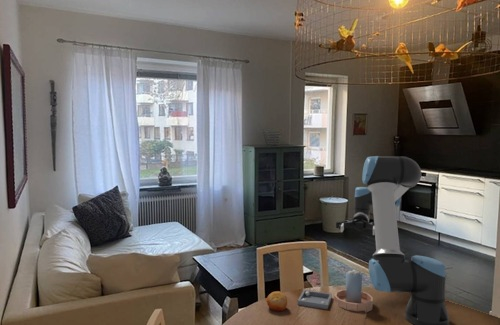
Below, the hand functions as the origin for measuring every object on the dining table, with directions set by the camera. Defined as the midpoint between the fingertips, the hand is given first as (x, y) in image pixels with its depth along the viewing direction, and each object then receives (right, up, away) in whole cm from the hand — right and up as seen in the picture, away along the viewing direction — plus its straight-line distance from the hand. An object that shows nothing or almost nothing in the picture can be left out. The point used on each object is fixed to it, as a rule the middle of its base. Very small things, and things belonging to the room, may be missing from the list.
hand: (357, 230), depth 167 cm
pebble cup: (-5, -27, -10) cm, 30 cm away
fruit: (-36, -29, -16) cm, 49 cm away
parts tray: (-20, -28, -9) cm, 36 cm away
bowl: (-5, -29, -10) cm, 31 cm away
